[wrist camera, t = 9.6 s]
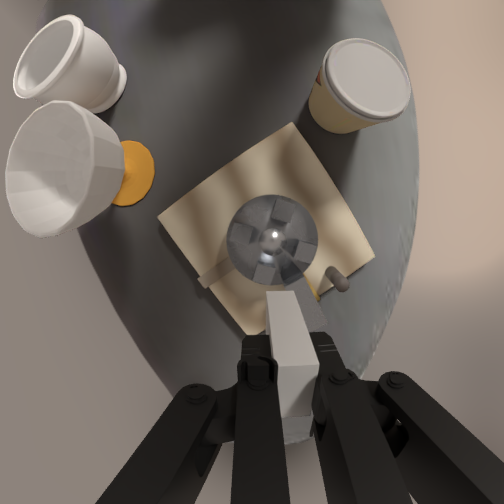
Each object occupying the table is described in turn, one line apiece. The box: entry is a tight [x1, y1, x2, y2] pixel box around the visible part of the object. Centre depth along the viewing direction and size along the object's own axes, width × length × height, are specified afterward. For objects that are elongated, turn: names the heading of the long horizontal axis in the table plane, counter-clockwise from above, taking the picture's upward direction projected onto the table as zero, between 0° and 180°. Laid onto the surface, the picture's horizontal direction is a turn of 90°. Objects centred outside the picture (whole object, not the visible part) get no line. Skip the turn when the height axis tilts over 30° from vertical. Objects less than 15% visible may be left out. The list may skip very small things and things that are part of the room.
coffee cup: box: [309, 38, 411, 134], centre depth 25 cm, size 9×9×12 cm
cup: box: [5, 100, 155, 238], centre depth 24 cm, size 12×12×17 cm
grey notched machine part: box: [226, 194, 328, 332], centre depth 30 cm, size 16×10×5 cm, turn 29°
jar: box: [13, 15, 127, 113], centre depth 22 cm, size 11×10×15 cm
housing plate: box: [158, 122, 375, 335], centre depth 31 cm, size 20×20×7 cm
